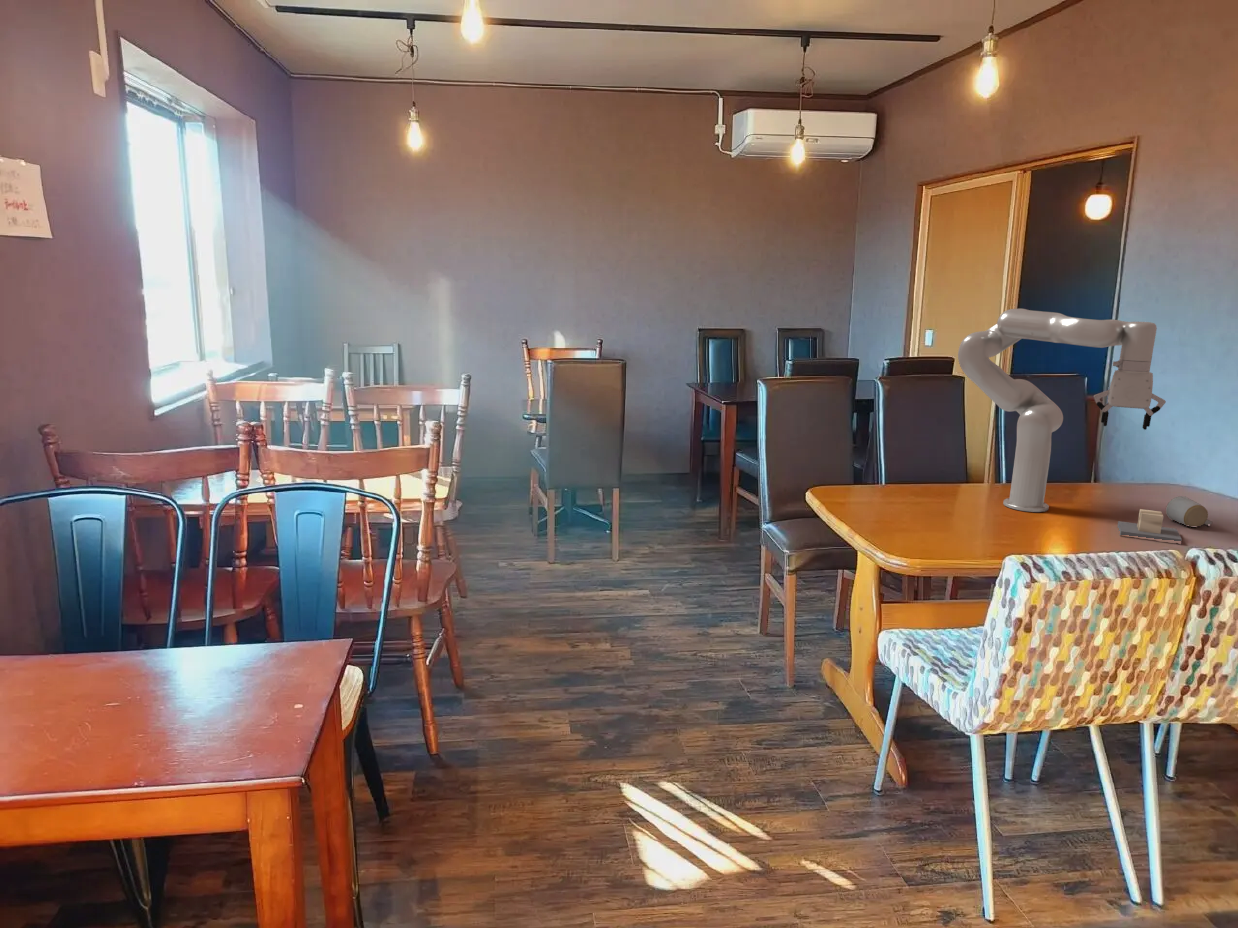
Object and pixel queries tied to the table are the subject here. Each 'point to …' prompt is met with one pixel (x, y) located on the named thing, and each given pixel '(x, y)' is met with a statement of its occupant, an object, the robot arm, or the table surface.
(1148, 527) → the beech cube
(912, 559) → the table surface
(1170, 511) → the ceramic mug
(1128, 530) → the serving board
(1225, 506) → the table surface
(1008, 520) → the table surface
